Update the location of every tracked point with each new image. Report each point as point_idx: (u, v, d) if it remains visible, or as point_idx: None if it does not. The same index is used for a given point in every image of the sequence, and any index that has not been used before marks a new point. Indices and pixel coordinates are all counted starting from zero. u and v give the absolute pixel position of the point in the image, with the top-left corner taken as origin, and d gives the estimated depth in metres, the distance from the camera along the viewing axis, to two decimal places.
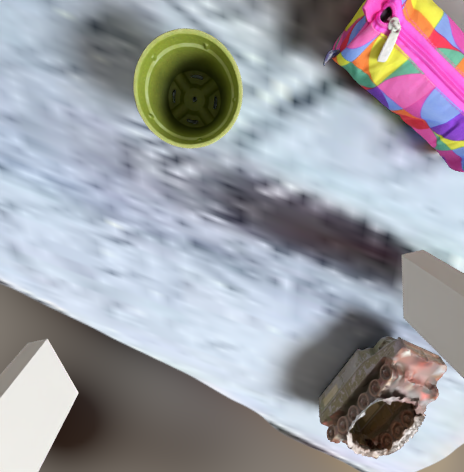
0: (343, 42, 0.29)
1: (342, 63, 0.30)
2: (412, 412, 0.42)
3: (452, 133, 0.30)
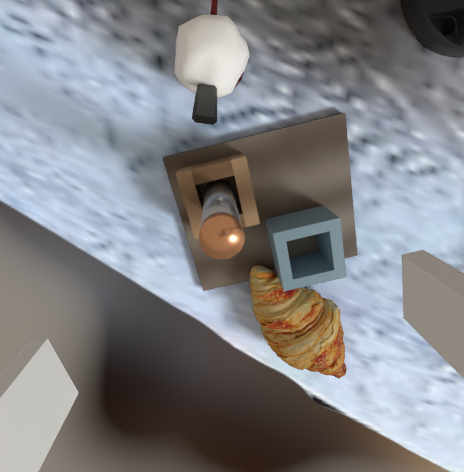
0: None
1: None
2: None
3: None
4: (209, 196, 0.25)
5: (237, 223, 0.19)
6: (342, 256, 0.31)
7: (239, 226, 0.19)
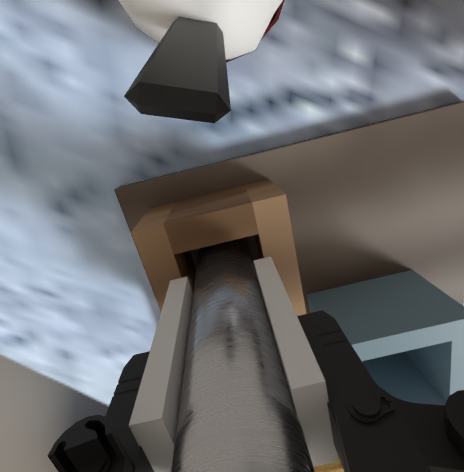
0: None
1: None
2: None
3: None
4: (204, 306, 0.10)
5: None
6: None
7: None
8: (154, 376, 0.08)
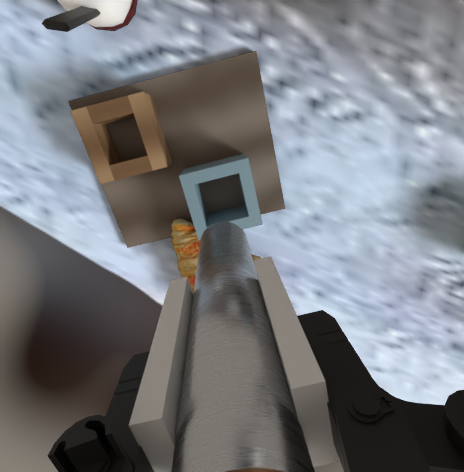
0: None
1: None
2: None
3: None
4: (205, 293, 0.11)
5: None
6: (255, 201, 0.30)
7: None
8: (154, 376, 0.08)
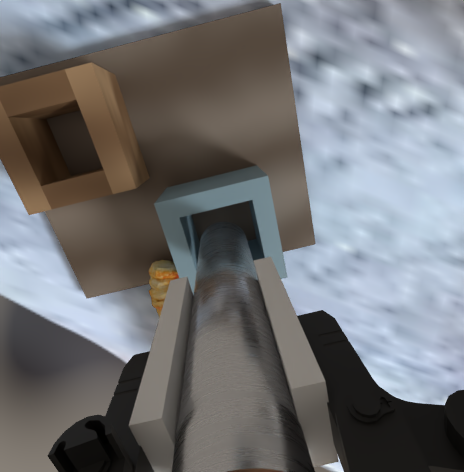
0: None
1: None
2: None
3: None
4: (205, 293, 0.11)
5: None
6: (278, 243, 0.19)
7: None
8: (154, 376, 0.08)
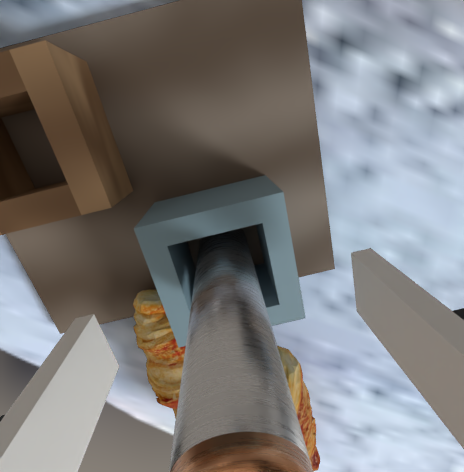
0: None
1: None
2: None
3: None
4: (204, 284, 0.11)
5: None
6: (294, 276, 0.15)
7: None
8: None
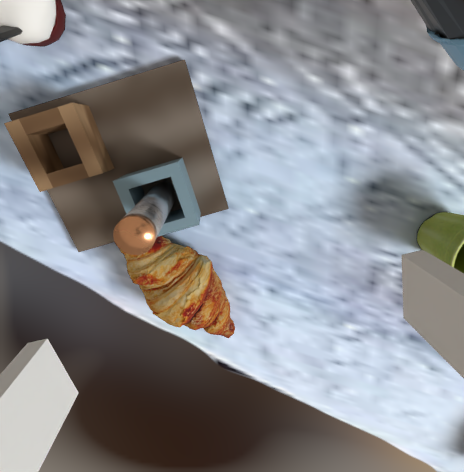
0: None
1: None
2: None
3: None
4: (141, 199, 0.28)
5: (146, 222, 0.21)
6: (190, 202, 0.31)
7: (148, 225, 0.21)
8: None
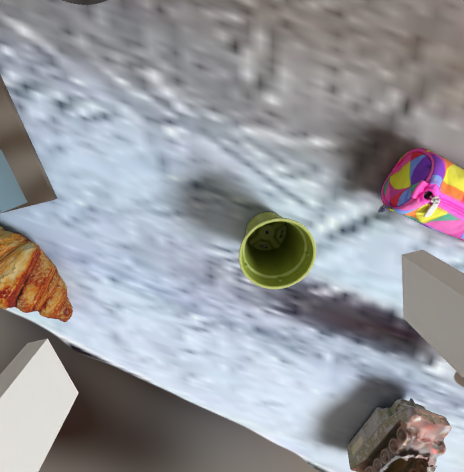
0: (393, 199, 0.39)
1: None
2: (425, 462, 0.52)
3: None
4: None
5: None
6: None
7: None
8: None
